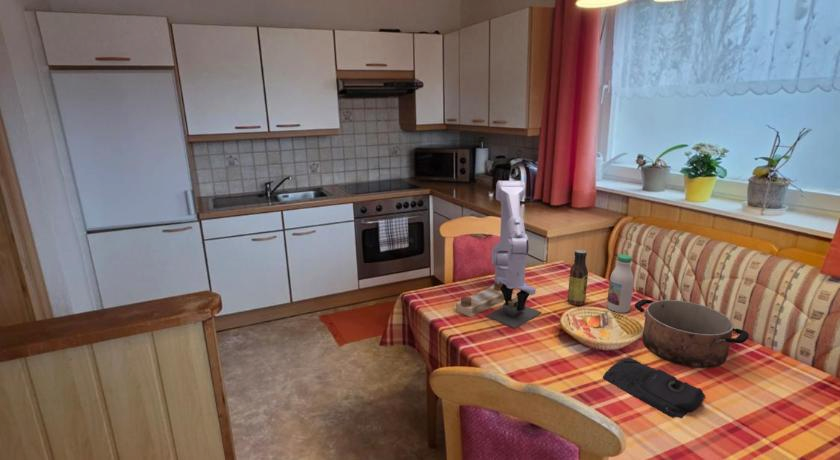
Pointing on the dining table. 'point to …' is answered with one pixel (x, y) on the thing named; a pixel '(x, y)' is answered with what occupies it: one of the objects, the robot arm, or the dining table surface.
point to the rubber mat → (513, 317)
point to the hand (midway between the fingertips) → (514, 307)
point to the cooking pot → (688, 333)
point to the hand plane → (480, 300)
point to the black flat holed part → (655, 387)
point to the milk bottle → (621, 285)
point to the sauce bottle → (578, 279)
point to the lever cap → (512, 307)
